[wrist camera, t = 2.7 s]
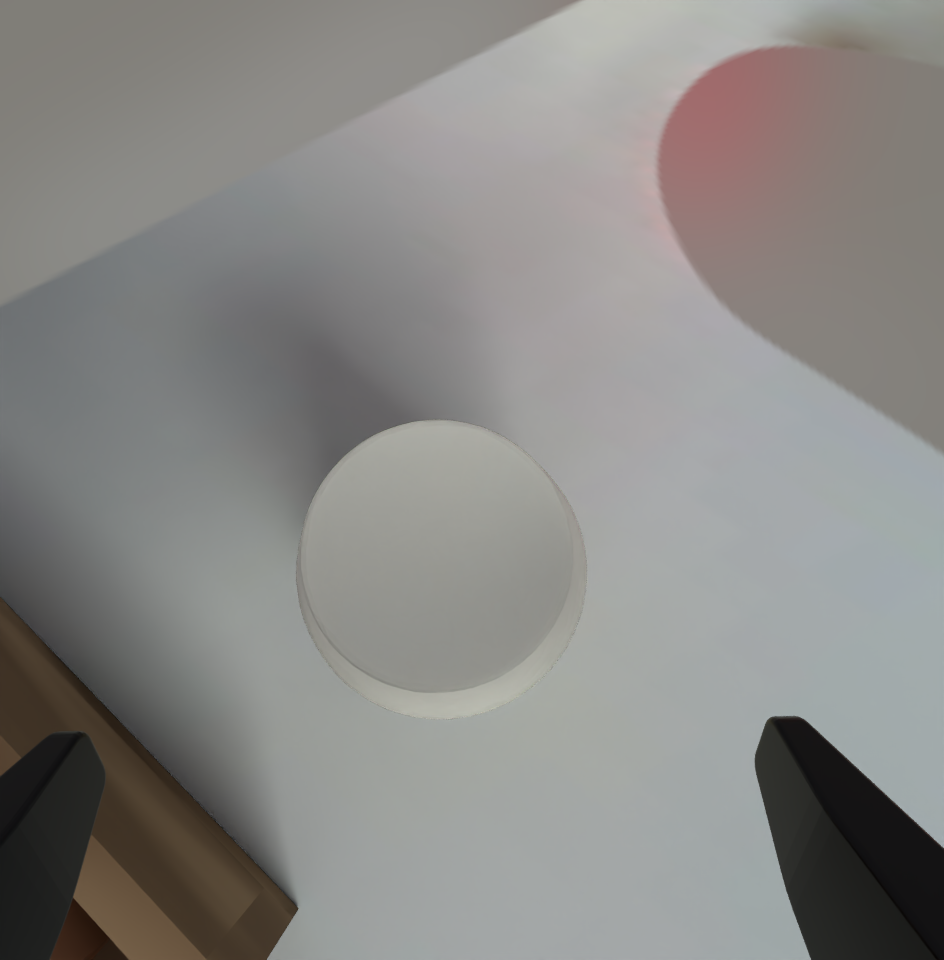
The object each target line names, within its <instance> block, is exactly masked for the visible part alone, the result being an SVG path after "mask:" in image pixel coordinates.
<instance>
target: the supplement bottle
mask: <svg viewBox="0 0 944 960" xmlns="http://www.w3.org/2000/svg"><path fill="white" fill-rule="evenodd" d="M296 582H297V590H298V597H299V603H300V608H301V611H302V615H303V619H304V621H305V624H306V626H307V629H308V631H309V634H310V635H311V637H312V639H313V641H314V643H315V645H316V647H317V648H318V650H319V652H320V653H321V655H322V656H323V658H324V659H325V660H326V662H327V663H328V665H329V666H330V667H331V669H332V670H333V671H334V672H335V673H336V674H337V676H338V677H339V678H340V679H342V680H343V681H344V682H345V683H346V684H347V685H348V686H349V687H350V688H352V689H353V690H355V691H356V692H357V693H359V694H360V695H362V696H363V697H365V698H366V699H368V700H370V701H371V702H373V703H375V704H377V705H379V706H381V707H383V708H385V709H388V710H391V711H394V712H397V713H400V714H404V715H407V716H411V717H418V718H424V719H456V718H463V717H468V716H474V715H478V714H481V713H484V712H487V711H490V710H493V709H495V708H498V707H500V706H503V705H505V704H507V703H509V702H510V701H512V700H514V699H515V698H517V697H519V696H520V695H522V694H523V693H525V692H526V691H527V690H529V689H530V688H531V687H533V686H534V685H535V684H536V683H537V682H539V681H540V680H541V679H542V678H543V677H544V676H545V675H546V674H547V673H548V671H549V670H550V669H551V668H552V667H553V666H554V665H555V664H556V662H557V661H558V659H559V658H560V657H561V655H562V654H563V652H564V651H565V649H566V647H567V646H568V644H569V642H570V640H571V638H572V636H573V634H574V632H575V630H576V627H577V624H578V622H579V619H580V616H581V612H582V608H583V604H584V599H585V593H586V583H587V561H586V552H585V546H584V542H583V538H582V533H581V530H580V527H579V524H578V521H577V519H576V516H575V514H574V512H573V510H572V508H571V506H570V504H569V502H568V500H567V499H566V497H565V495H564V494H563V493H562V491H561V490H560V488H559V487H558V486H557V484H556V483H555V482H554V481H553V479H552V478H551V477H550V476H549V475H548V473H547V472H546V471H545V470H544V469H543V468H542V467H541V466H540V465H539V464H537V463H536V461H535V460H534V459H533V458H532V457H531V456H530V455H529V454H527V453H526V452H525V451H524V450H522V449H521V448H520V447H519V446H517V445H516V444H514V443H513V442H511V441H510V440H508V439H507V438H505V437H503V436H501V435H499V434H497V433H495V432H493V431H490V430H488V429H486V428H483V427H480V426H477V425H473V424H470V423H465V422H459V421H452V420H438V419H435V420H422V421H415V422H410V423H406V424H401V425H398V426H395V427H392V428H389V429H386V430H384V431H382V432H379V433H377V434H375V435H373V436H372V437H370V438H368V439H366V440H365V441H363V442H362V443H360V444H359V445H357V446H356V447H355V448H353V449H352V450H351V451H349V452H348V453H347V454H346V455H345V456H344V457H343V458H342V459H341V460H340V461H339V462H338V463H337V464H336V465H335V466H334V468H333V469H332V470H331V471H330V472H329V473H328V475H327V476H326V477H325V479H324V480H323V481H322V483H321V485H320V487H319V488H318V490H317V492H316V493H315V495H314V497H313V499H312V502H311V504H310V506H309V509H308V512H307V515H306V518H305V521H304V525H303V530H302V534H301V539H300V543H299V548H298V556H297V570H296Z"/></svg>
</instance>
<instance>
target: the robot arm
mask: <svg viewBox="0 0 944 960" xmlns="http://www.w3.org/2000/svg"><path fill="white" fill-rule="evenodd" d="M755 770H756V775H757V779H758V783H759V787H760V790H761V794H762V798H763V802H764V806H765V810H766V814H767V818H768V822H769V826H770V830H771V834H772V838H773V842H774V846H775V850H776V854H777V857H778V861H779V865H780V869H781V873H782V877H783V880H784V884H785V887H786V891H787V894H788V897H789V900H790V903H791V906H792V909H793V911H794V914H795V917H796V920H797V922H798V925H799V928H800V931H801V933H802V936H803V939H804V942H805V944H806V947H807V950H808V953H809V955H810V958H811V960H944V848H943V847H942V846H941V845H940V844H939V843H937V842H936V841H935V840H934V839H933V838H932V837H931V836H930V835H929V834H928V833H927V832H926V831H925V830H923V829H922V828H921V827H920V826H919V825H918V824H917V823H916V822H915V821H914V820H913V819H912V818H911V817H909V816H908V815H907V814H906V813H905V812H904V811H903V810H902V809H901V808H900V807H899V806H898V805H896V804H895V803H894V802H893V801H892V800H891V799H890V798H889V797H888V796H887V795H886V794H885V793H884V792H882V791H881V790H880V789H879V788H878V787H877V786H876V785H875V784H874V783H873V782H872V781H871V780H870V779H868V778H867V777H866V776H865V775H864V774H863V773H862V772H861V771H860V770H859V769H858V768H857V767H856V766H854V765H853V764H852V763H851V762H850V761H849V760H848V759H847V758H846V757H845V756H844V755H843V754H841V753H840V752H839V751H838V750H837V749H836V748H835V747H834V746H833V745H832V744H831V743H830V742H829V741H827V740H826V739H825V738H824V737H823V736H822V735H821V734H820V733H819V732H818V731H817V730H816V729H815V728H813V727H812V726H811V725H810V724H809V723H808V722H807V721H806V720H804V719H802V718H800V717H797V716H775V717H771V718H769V719H768V720H767V722H766V724H765V727H764V730H763V733H762V736H761V739H760V742H759V745H758V748H757V751H756V754H755ZM105 781H106V772H105V767H104V765H103V763H102V761H101V758H100V756H99V754H98V752H97V750H96V748H95V746H94V744H93V742H92V740H91V738H90V736H89V735H88V734H87V733H86V732H84V731H59V732H54V733H52V734H50V735H48V736H47V737H45V738H44V739H43V740H42V741H41V742H39V743H38V744H37V745H36V746H35V747H34V748H32V749H31V750H30V751H29V752H28V753H27V754H25V755H24V756H23V757H22V758H21V759H20V760H18V761H17V762H16V763H15V764H14V765H13V766H11V767H10V768H9V769H8V770H7V771H6V772H4V773H3V774H2V775H1V776H0V960H50V958H51V955H52V953H53V950H54V948H55V945H56V943H57V940H58V937H59V935H60V932H61V930H62V927H63V925H64V922H65V919H66V916H67V914H68V911H69V908H70V905H71V902H72V899H73V896H74V893H75V889H76V886H77V883H78V879H79V876H80V872H81V869H82V865H83V862H84V858H85V854H86V851H87V847H88V844H89V840H90V837H91V833H92V830H93V826H94V823H95V819H96V816H97V812H98V809H99V805H100V802H101V798H102V794H103V791H104V787H105Z"/></svg>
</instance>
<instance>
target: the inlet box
mask: <svg viewBox="0 0 944 960" xmlns="http://www.w3.org/2000/svg"><path fill="white" fill-rule="evenodd" d="M59 731H84V732H86V733H87V734H88V735H89V736H90V738H91V740H92V742H93V744H94V746H95V748H96V750H97V752H98V754H99V756H100V758H101V761H102V763H103V765H104V767H105V772H106V781H105V787H104V791H103V794H102V798H101V802H100V805H99V809H98V812H97V816H96V819H95V823H94V826H93V830H92V833H91V837H90V840H89V844H88V847H87V851H86V854H85V858H84V862H83V865H82V869H81V872H80V876H79V879H78V883H77V886H76V889H75V893H74V896H73V899H72V902H71V905H70V908H69V911H68V914H67V916H66V919H65V922H64V925H63V927H62V930H61V932H60V935H59V937H58V940H57V943H56V945H55V948H54V950H53V953H52V955H51V958H50V960H267V958H268V956H269V955H270V953H271V952H272V950H273V949H274V947H275V945H276V944H277V942H278V941H279V939H280V937H281V936H282V934H283V933H284V931H285V929H286V928H287V926H288V925H289V923H290V922H291V920H292V918H293V917H294V915H295V914H296V912H297V910H298V909H299V908H298V907H297V906H296V905H295V904H294V903H293V902H292V901H291V900H290V899H289V898H288V897H287V896H286V895H285V894H284V893H283V892H282V891H281V890H280V889H279V888H278V887H277V886H276V884H275V883H274V882H273V881H272V880H271V879H270V878H269V877H268V876H267V875H266V874H265V873H264V872H263V871H262V870H261V869H260V868H259V867H258V866H257V865H256V864H255V863H254V861H253V860H252V859H251V858H250V857H249V856H248V855H247V854H246V853H245V852H244V851H243V850H242V849H241V848H240V847H239V846H238V845H237V844H236V843H235V842H234V841H233V840H232V839H231V837H230V836H229V835H228V834H227V833H226V832H225V831H224V830H223V829H222V828H221V827H220V826H219V825H218V824H217V823H216V822H215V821H214V820H213V819H212V818H211V817H210V816H209V815H208V813H207V812H206V811H205V810H204V809H203V808H202V807H201V806H200V805H199V804H198V803H197V802H196V801H195V800H194V799H193V798H192V797H191V796H190V795H189V794H188V793H187V792H186V790H185V789H184V788H183V787H182V786H181V785H180V784H179V783H178V782H177V781H176V780H175V779H174V778H173V777H172V776H171V775H170V774H169V773H168V772H167V771H166V770H165V769H164V768H163V766H162V765H161V764H160V763H159V762H158V761H157V760H156V759H155V758H154V757H153V756H152V755H151V754H150V753H149V752H148V751H147V750H146V749H145V748H144V747H143V746H142V745H141V744H140V742H139V741H138V740H137V739H136V738H135V737H134V736H133V735H132V734H131V733H130V732H129V731H128V730H127V729H126V728H125V727H124V726H123V725H122V724H121V723H120V722H119V721H118V720H117V718H116V717H115V716H114V715H113V714H112V713H111V712H110V711H109V710H108V709H107V708H106V707H105V706H104V705H103V704H102V703H101V702H100V701H99V700H98V699H97V698H96V697H95V695H94V694H93V693H92V692H91V691H90V690H89V689H88V688H87V687H86V686H85V685H84V684H83V683H82V682H81V681H80V680H79V679H78V678H77V677H76V676H75V675H74V674H73V673H72V671H71V670H70V669H69V668H68V667H67V666H66V665H65V664H64V663H63V662H62V661H61V660H60V659H59V658H58V657H57V656H56V655H55V654H54V653H53V652H52V651H51V650H50V649H49V647H48V646H47V645H46V644H45V643H44V642H43V641H42V640H41V639H40V638H39V637H38V636H37V635H36V634H35V633H34V632H33V631H32V630H31V629H30V628H29V627H28V626H27V625H26V623H25V622H24V621H23V620H22V619H21V618H20V617H19V616H18V615H17V614H16V613H15V612H14V611H13V610H12V609H11V608H10V607H9V606H8V605H7V604H6V603H5V602H4V600H3V599H2V598H1V597H0V776H1V775H2V774H3V773H4V772H6V771H7V770H8V769H9V768H10V767H11V766H13V765H14V764H15V763H16V762H17V761H18V760H20V759H21V758H22V757H23V756H24V755H25V754H27V753H28V752H29V751H30V750H31V749H32V748H34V747H35V746H36V745H37V744H38V743H39V742H41V741H42V740H43V739H44V738H45V737H47V736H48V735H50V734H52V733H54V732H59Z"/></svg>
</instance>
